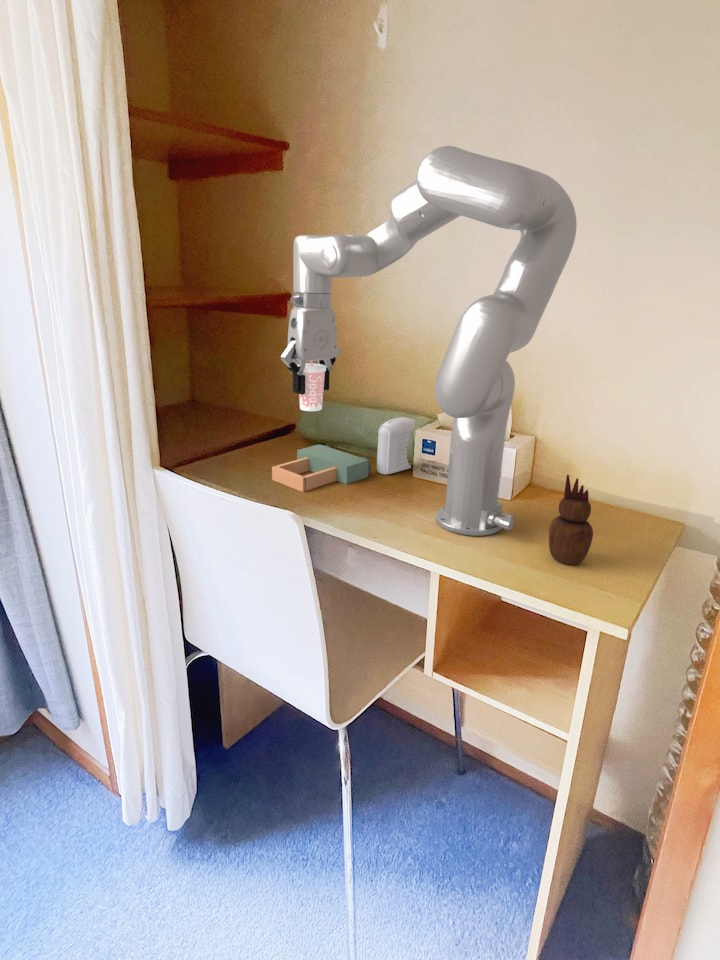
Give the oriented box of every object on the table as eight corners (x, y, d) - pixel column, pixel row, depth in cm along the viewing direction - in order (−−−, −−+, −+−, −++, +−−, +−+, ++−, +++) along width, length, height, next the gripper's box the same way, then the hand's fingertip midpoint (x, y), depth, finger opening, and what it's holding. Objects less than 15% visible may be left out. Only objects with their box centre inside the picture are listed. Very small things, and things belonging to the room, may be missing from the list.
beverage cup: (295, 411, 127) (295, 342, 122) (297, 404, 133) (297, 338, 128) (325, 412, 128) (326, 344, 123) (325, 405, 133) (327, 339, 128)
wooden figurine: (541, 560, 103) (553, 476, 98) (551, 548, 108) (564, 467, 103) (582, 572, 100) (597, 485, 95) (591, 559, 104) (606, 475, 99)
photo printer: (403, 463, 149) (406, 413, 145) (417, 467, 146) (420, 416, 142) (373, 472, 143) (375, 419, 138) (387, 476, 140) (389, 423, 135)
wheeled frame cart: (371, 475, 140) (371, 459, 139) (312, 496, 127) (312, 477, 126) (322, 459, 150) (322, 443, 149) (263, 476, 138) (263, 459, 136)
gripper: (291, 305, 114) (291, 400, 121) (356, 302, 126) (352, 389, 133) (266, 301, 119) (267, 393, 125) (330, 298, 131) (328, 383, 137)
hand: (311, 390), depth 129 cm, fingers closed on beverage cup, 6 cm apart
